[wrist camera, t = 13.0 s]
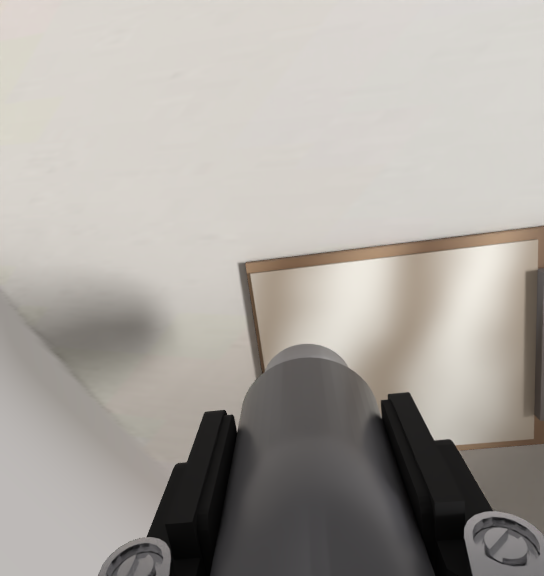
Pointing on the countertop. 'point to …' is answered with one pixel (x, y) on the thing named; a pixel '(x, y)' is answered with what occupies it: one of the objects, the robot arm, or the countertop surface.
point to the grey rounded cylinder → (315, 479)
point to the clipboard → (424, 326)
